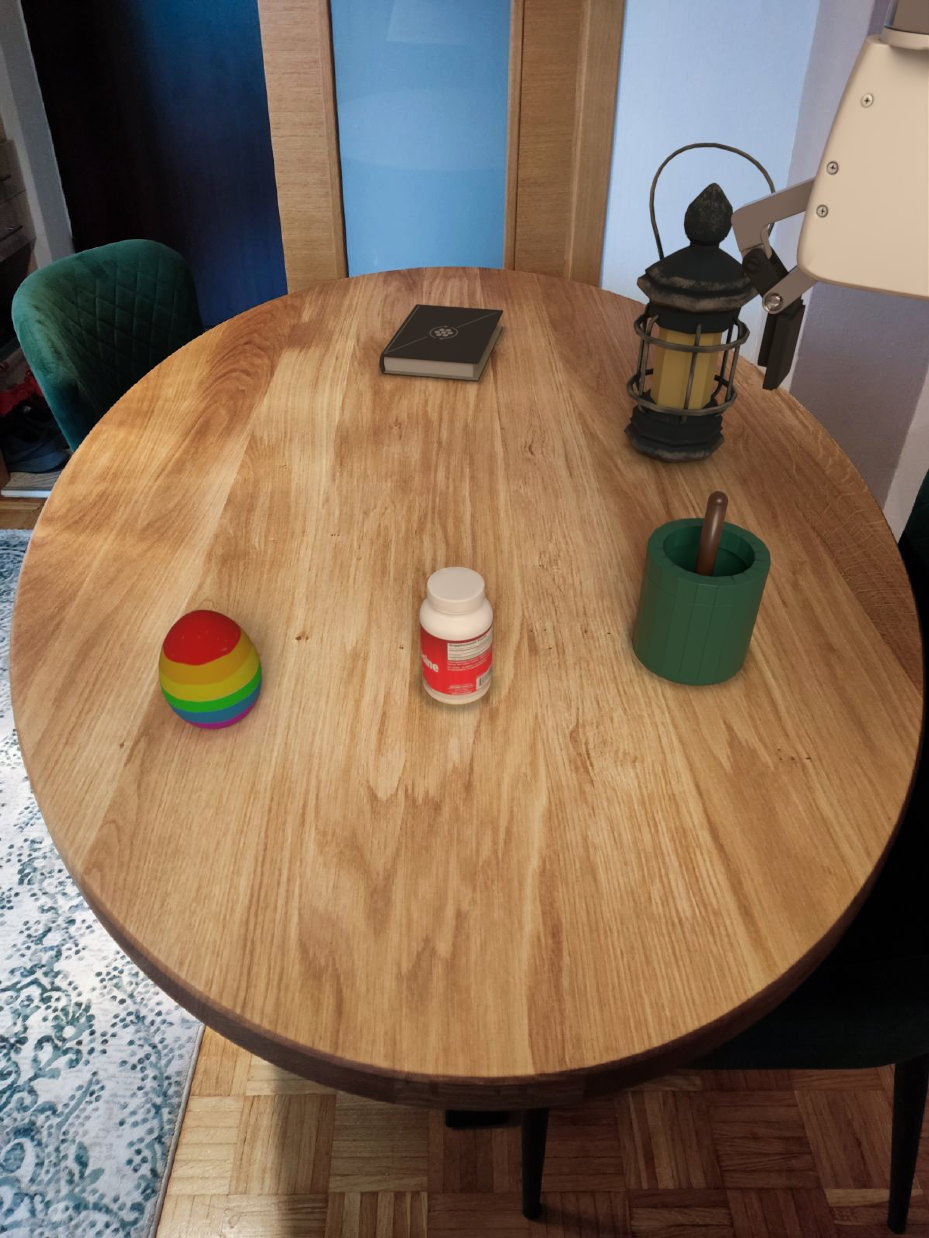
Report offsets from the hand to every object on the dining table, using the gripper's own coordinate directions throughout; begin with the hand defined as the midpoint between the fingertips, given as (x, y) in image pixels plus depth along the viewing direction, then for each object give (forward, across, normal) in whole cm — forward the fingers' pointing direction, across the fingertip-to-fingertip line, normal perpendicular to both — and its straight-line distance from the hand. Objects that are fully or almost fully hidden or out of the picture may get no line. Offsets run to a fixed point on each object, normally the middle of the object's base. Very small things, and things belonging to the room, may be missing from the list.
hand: (867, 401), depth 46 cm
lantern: (+34, +25, -52) cm, 67 cm away
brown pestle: (+33, +10, -16) cm, 38 cm away
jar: (+33, +10, -16) cm, 38 cm away
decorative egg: (+34, +42, +12) cm, 55 cm away
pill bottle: (+34, +26, -1) cm, 42 cm away
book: (+34, +67, -65) cm, 99 cm away
